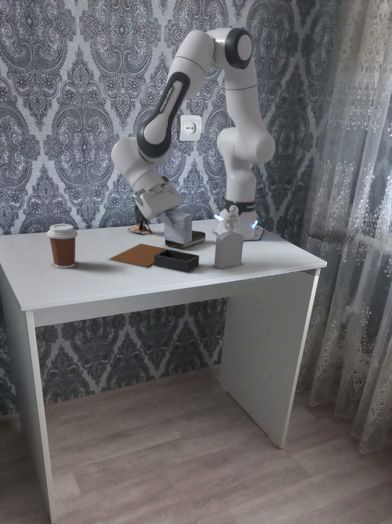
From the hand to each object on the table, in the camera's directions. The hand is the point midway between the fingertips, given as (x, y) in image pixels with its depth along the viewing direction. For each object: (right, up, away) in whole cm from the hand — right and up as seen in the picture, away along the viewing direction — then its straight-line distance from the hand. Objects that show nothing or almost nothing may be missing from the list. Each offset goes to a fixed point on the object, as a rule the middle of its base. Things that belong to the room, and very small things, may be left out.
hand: (176, 223), depth 154 cm
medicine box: (0, -5, +2) cm, 6 cm away
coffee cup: (-35, -13, +1) cm, 38 cm away
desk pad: (-12, -7, +13) cm, 19 cm away
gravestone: (+17, -12, +10) cm, 23 cm away
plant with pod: (-15, +6, +38) cm, 41 cm away
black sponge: (+2, -1, +28) cm, 28 cm away
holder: (0, -12, +6) cm, 14 cm away
